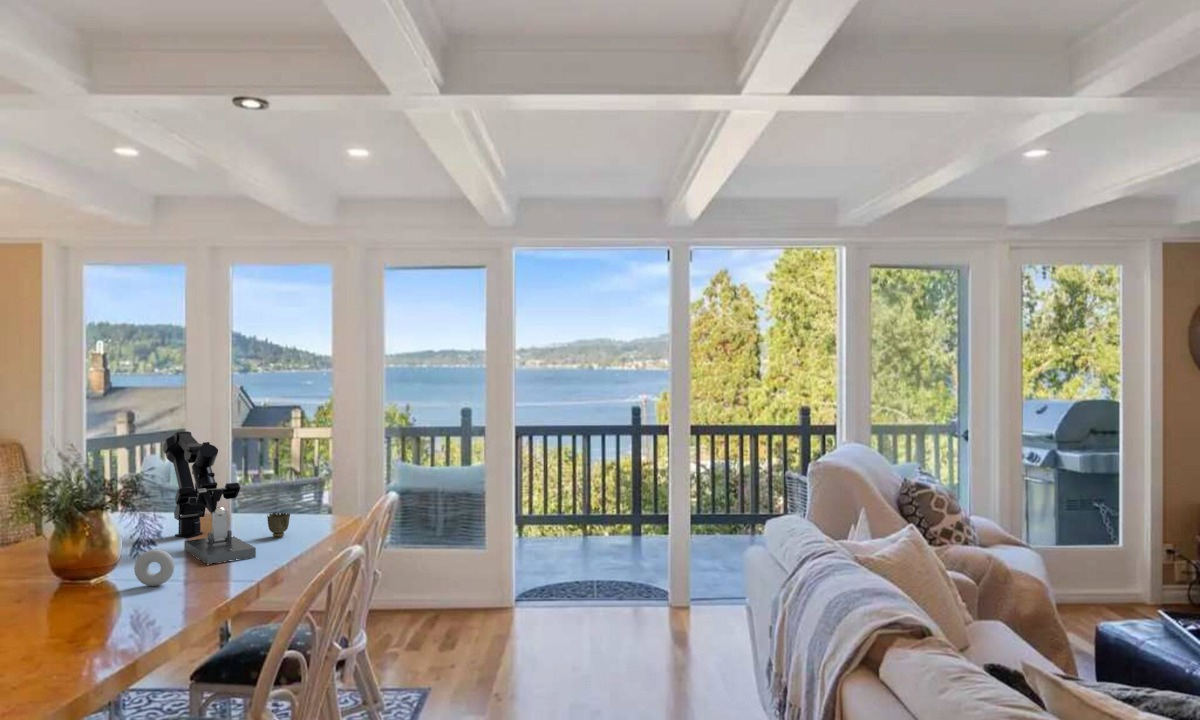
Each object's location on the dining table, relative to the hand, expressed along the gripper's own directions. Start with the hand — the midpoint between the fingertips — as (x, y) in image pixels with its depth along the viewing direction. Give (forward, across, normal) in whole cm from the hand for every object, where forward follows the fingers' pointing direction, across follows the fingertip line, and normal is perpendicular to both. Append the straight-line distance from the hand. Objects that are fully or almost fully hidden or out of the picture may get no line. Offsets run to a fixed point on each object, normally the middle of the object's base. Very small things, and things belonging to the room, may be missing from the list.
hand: (213, 513), depth 245 cm
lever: (+10, 0, 0) cm, 10 cm away
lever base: (+13, 0, -4) cm, 13 cm away
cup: (+6, -22, -11) cm, 26 cm away
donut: (+30, +24, +13) cm, 41 cm away
